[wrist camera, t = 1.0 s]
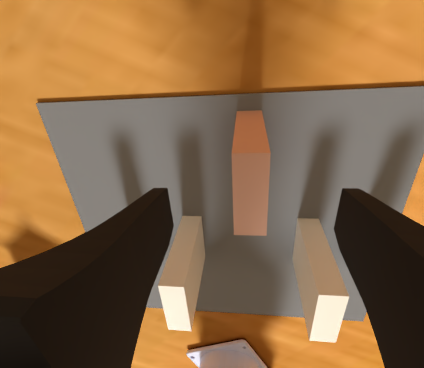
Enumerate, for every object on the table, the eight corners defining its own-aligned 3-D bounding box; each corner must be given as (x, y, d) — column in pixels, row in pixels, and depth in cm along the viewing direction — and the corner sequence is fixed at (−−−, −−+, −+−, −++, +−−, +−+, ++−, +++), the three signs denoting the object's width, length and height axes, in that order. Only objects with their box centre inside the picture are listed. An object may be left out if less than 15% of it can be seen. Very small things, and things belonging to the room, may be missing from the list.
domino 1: (201, 216, 21) (183, 287, 15) (205, 255, 24) (191, 331, 18) (182, 215, 22) (157, 285, 16) (188, 254, 24) (168, 329, 18)
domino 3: (318, 218, 20) (349, 296, 14) (311, 259, 22) (335, 342, 16) (297, 218, 20) (318, 294, 14) (292, 259, 23) (309, 340, 17)
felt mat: (445, 84, 15) (448, 85, 15) (362, 319, 26) (363, 321, 26) (37, 102, 18) (35, 103, 18) (114, 303, 29) (113, 305, 29)
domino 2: (261, 110, 17) (270, 152, 11) (259, 171, 19) (266, 235, 13) (236, 110, 17) (231, 153, 11) (237, 171, 19) (233, 235, 13)
